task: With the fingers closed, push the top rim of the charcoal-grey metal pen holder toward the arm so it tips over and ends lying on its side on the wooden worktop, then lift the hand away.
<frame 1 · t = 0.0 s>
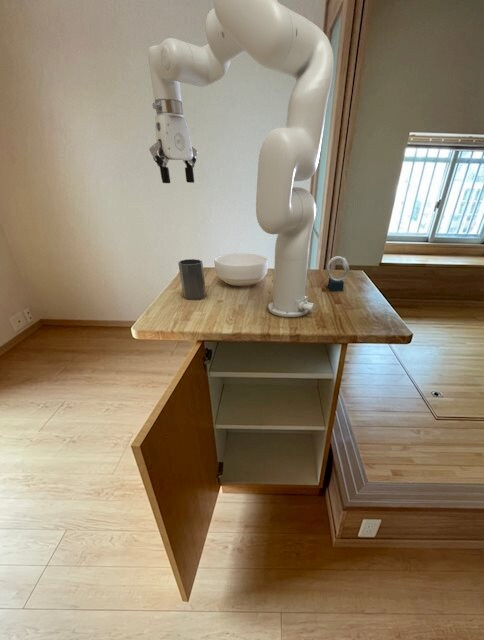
hand: (178, 182, 100), 31 cm above the table, tool pointing down, fingers open, 9 cm apart
bowl: (241, 283, 119), on the table
pen holder: (194, 296, 106), on the table
watch: (335, 289, 115), on the table
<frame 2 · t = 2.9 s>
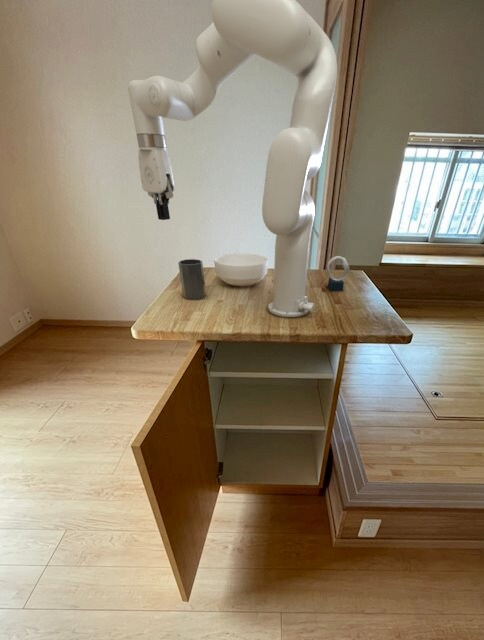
hand: (164, 219, 98), 22 cm above the table, tool pointing down, fingers closed
nothing on the table moved.
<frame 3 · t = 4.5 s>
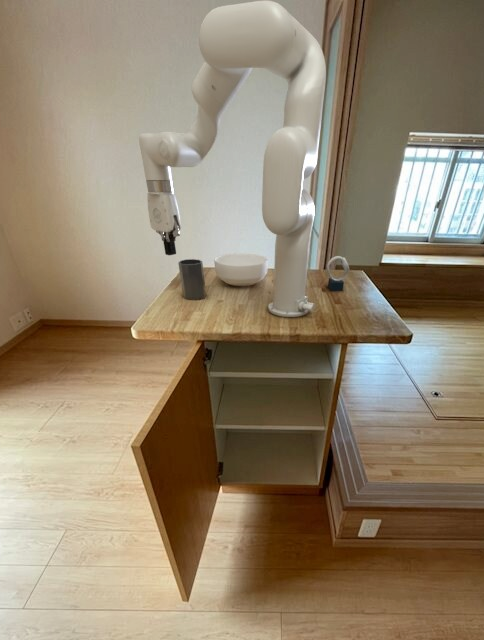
hand: (170, 254, 104), 12 cm above the table, tool pointing down, fingers closed
nothing on the table moved.
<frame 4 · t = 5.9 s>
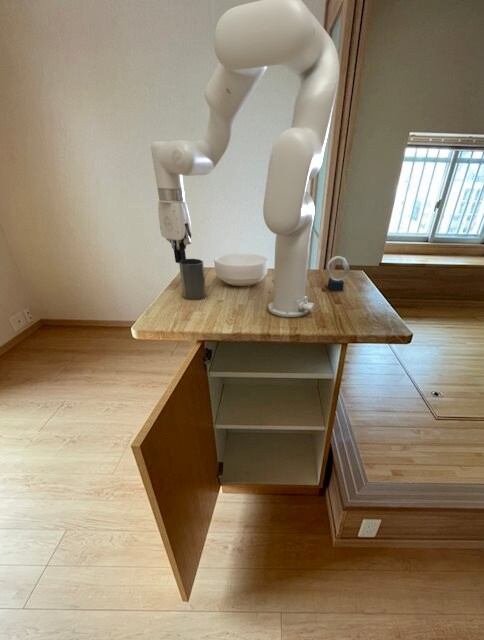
hand: (181, 262, 102), 10 cm above the table, tool pointing down, fingers closed
pen holder: (194, 295, 106), on the table, touching gripper
everything else where it was.
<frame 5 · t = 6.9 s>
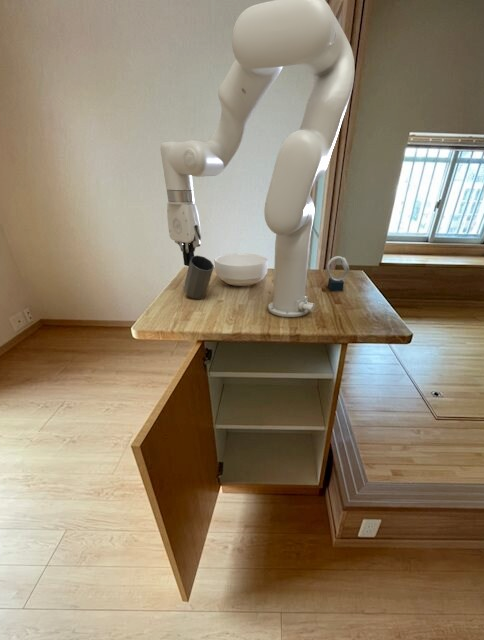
hand: (189, 264, 100), 10 cm above the table, tool pointing down, fingers closed
pen holder: (194, 291, 105), point 2 cm above the table, tilted 27°, touching gripper
everything else where it was.
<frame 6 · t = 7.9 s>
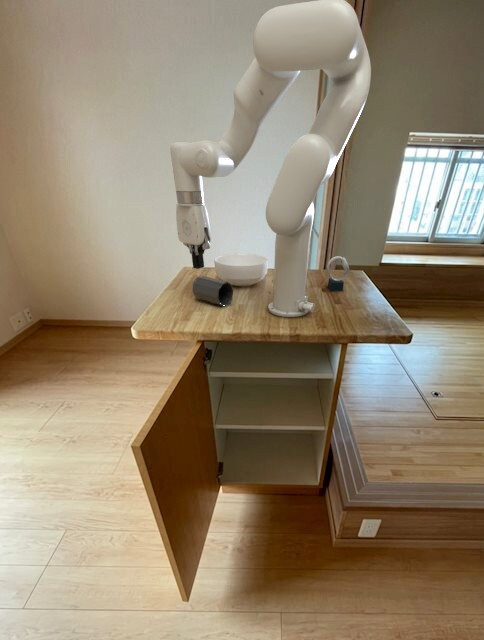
hand: (198, 267, 98), 10 cm above the table, tool pointing down, fingers closed
pen holder: (200, 287, 102), point 4 cm above the table, tilted 90°
everything else where it was.
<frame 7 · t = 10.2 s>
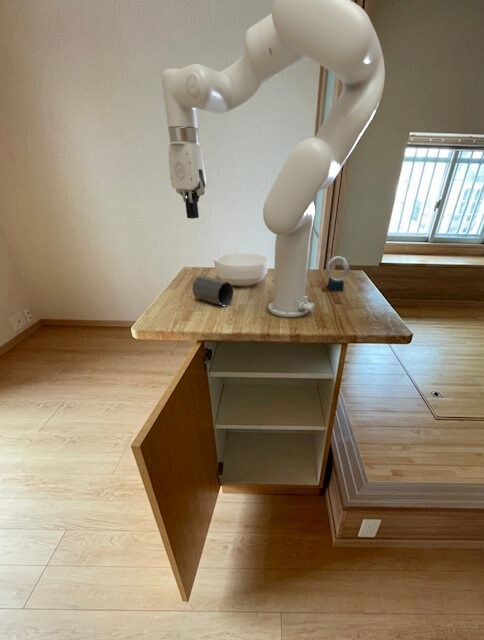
hand: (193, 217, 93), 23 cm above the table, tool pointing down, fingers closed
nothing on the table moved.
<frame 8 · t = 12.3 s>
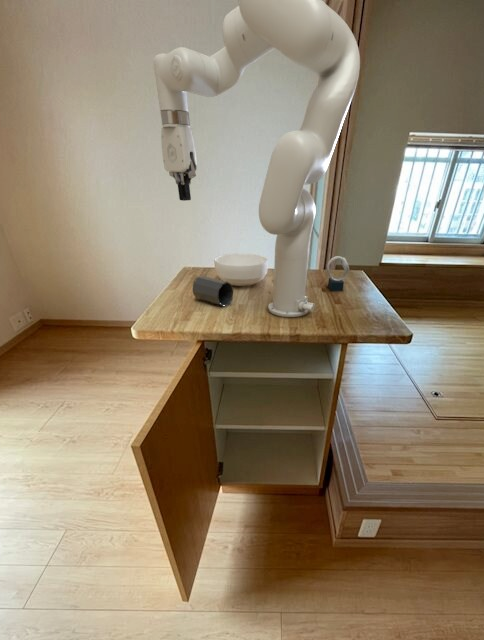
hand: (185, 200, 97), 27 cm above the table, tool pointing down, fingers closed
nothing on the table moved.
at the end: pen holder tilted 90°; pen holder inside the target area (0.4 cm from its centre), point 3.6 cm above the table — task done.
